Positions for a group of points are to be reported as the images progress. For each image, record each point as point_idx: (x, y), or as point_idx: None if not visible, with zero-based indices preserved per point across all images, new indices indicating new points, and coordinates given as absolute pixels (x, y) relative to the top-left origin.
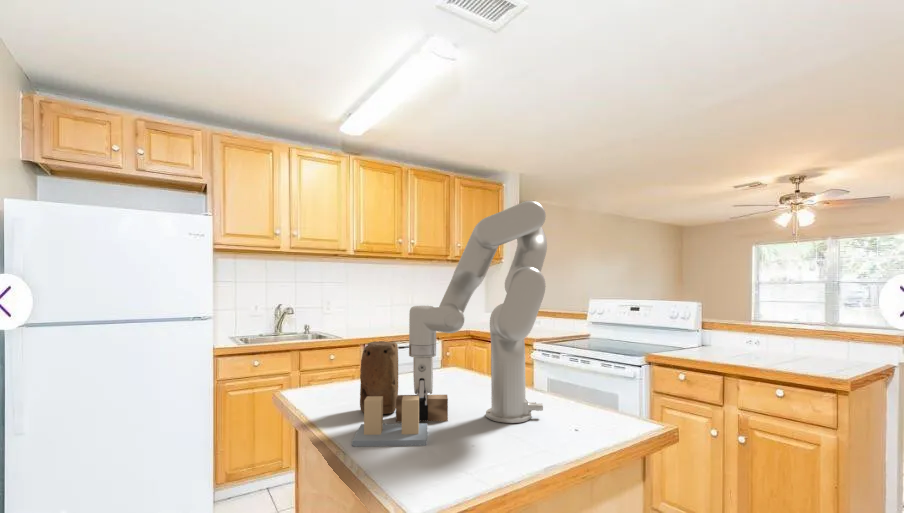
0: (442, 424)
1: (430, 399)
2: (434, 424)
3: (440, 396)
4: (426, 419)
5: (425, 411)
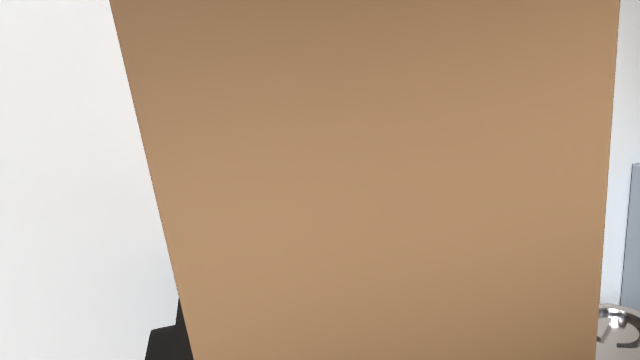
0: None
1: (592, 315)
2: None
3: (376, 124)
4: None
5: None
